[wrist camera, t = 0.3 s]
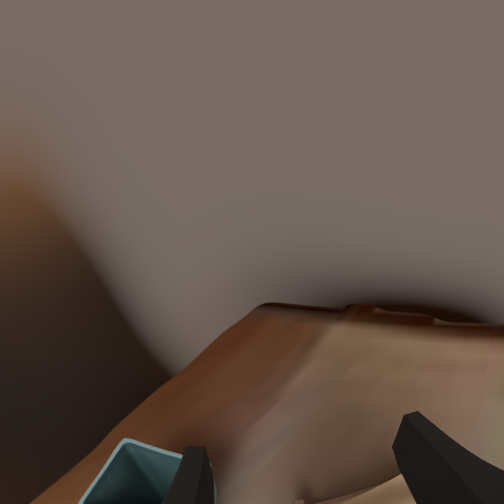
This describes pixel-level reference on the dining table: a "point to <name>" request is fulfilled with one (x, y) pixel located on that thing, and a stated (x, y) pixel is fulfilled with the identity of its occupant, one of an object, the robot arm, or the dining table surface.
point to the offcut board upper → (386, 494)
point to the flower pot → (135, 475)
